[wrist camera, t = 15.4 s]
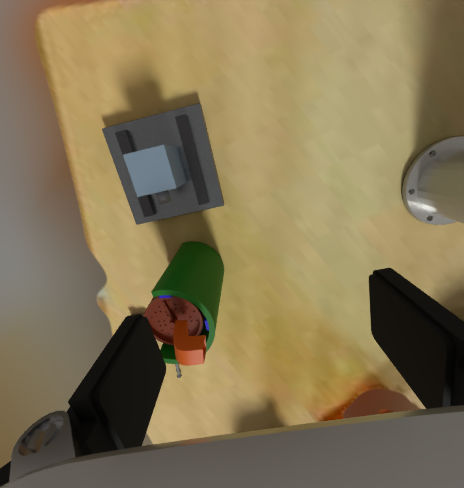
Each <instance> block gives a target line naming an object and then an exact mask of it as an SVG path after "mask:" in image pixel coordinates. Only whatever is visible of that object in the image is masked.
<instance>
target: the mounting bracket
mask: <svg viewBox="0 0 464 488" xmlns="http://www.w3.org/2000/svg"><path fill="white" fill-rule="evenodd" d="M102 130H103V133H104V136H105V139H106V142H107V144H108V147H109V150H110V153H111V155H112V158H113V161H114V164H115V166H116V169H117V172H118V175H119V177H120V180H121V183H122V186H123V188H124V191H125V194H126V197H127V199H128V202H129V205H130V208H131V211H132V213H133V216H134V219H135V222H136V224H142V223H146V222H151V221H156V220H160V219H165V218H169V217H174V216H178V215H183V214H187V213H192V212H196V211H201V210H206V209H210V208H215V207H219V206H224V200H223V196H222V192H221V188H220V183H219V179H218V175H217V171H216V166H215V162H214V158H213V154H212V149H211V145H210V141H209V137H208V132H207V128H206V124H205V120H204V115H203V111H202V107H201V105H200V103H199V104H195V105H191V106H187V107H184V108H180V109H176V110H172V111H168V112H164V113H161V114H157V115H153V116H149V117H145V118H141V119H138V120H134V121H130V122H126V123H122V124H118V125H115V126H111V127H107V128H103V129H102ZM160 145H170V146H177V147H178V150H179V154H180V157H181V161H182V164H183V168H184V172H185V175H186V179H187V183H185V184H183V185H181V186H180V187H178V188H175V189H171V190H168V192H169V195H170V198H171V202H168V203H164V204H159V202H158V199H157V196H156V193H153V194H149V195H145V196H140V197H137V194H136V192H135V189H134V186H133V183H132V180H131V177H130V174H129V171H128V168H127V166H126V163H125V160H124V157H123V155H124V154H128V153H132V152H136V151H140V150H144V149H148V148H152V147H156V146H160Z"/></svg>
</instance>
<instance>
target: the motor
mask: <svg viewBox="0 0 464 488" xmlns="http://www.w3.org/2000/svg"><path fill="white" fill-rule="evenodd" d="M223 275H224V265H223V262H222V259H221V257H220V256H219V254H218V253H217V252H216V251H215V250H214V249H213V248H211V247H210V246H208V245H206V244H203V243H200V242H186V243H183V244H182V246H181V247H180V249H179V250H178V252H177V253H176V255H175V257H174V258H173V260H172V261H171V263H170V264H169V266H168V267H167V269H166V270H165V272H164V273H163V275H162V276H161V278H160V280H159V281H158V283H157V284H156V286H155V287H154V289H153V290H152V295H153V299H152V300H151V302H150V304H149V305H148V307H147V309H146V311H145V314H144V316H145V317H147V319H148V321H149V324H150V326H151V329H152V331H153V334H154V336H155V339H157V340H159V341H160V342H163V345H162V347H161V350H160V351H161V354H162V356H163V359H164V361H165V363H169V364H181V365H198V364H204V360H205V354H206V352H207V351H208V349H209V348H210V347H211V345H212V343H213V340H214V336H215V329H216V323H217V316H218V309H219V302H220V296H221V289H222V282H223Z"/></svg>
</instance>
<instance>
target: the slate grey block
mask: <svg viewBox="0 0 464 488" xmlns="http://www.w3.org/2000/svg"><path fill="white" fill-rule="evenodd" d="M123 157H124V160H125V163H126V166H127V168H128V171H129V174H130V177H131V180H132V183H133V186H134V189H135V192H136V194H137V197H140V196H145V195H149V194H153V193H156V196H157V199H158V202H159V204H164V203H168V202H171V198H170V195H169V192H168V190H171V189H175V188H178V187H180V186H181V185H183V184H185V183H187V179H186V175H185V172H184V168H183V164H182V161H181V157H180V154H179V150H178V147H177V146H170V145H160V146H156V147H152V148H148V149H144V150H140V151H136V152H132V153H128V154H124V155H123Z"/></svg>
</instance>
